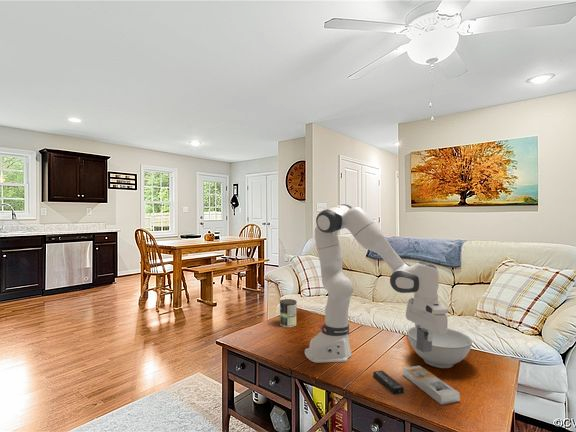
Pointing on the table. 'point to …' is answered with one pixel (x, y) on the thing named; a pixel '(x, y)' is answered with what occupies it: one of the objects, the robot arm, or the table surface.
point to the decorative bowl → (443, 348)
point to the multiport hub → (388, 382)
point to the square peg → (423, 340)
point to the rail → (431, 385)
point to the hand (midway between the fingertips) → (424, 338)
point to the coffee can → (288, 312)
